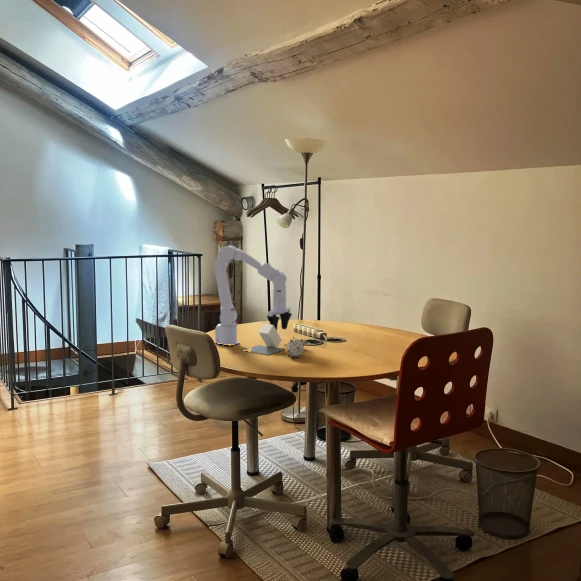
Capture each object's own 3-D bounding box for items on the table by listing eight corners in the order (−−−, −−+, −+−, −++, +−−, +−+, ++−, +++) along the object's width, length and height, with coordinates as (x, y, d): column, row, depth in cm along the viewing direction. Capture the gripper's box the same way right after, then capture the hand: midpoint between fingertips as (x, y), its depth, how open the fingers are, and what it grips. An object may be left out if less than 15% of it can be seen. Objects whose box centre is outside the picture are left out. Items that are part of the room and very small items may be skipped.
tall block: (267, 347, 271) (258, 332, 265) (272, 338, 274) (264, 323, 267) (276, 348, 268) (268, 333, 262) (281, 340, 271) (273, 324, 265)
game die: (293, 367, 251) (283, 350, 246) (288, 355, 258) (278, 338, 253) (312, 356, 251) (302, 339, 246) (307, 345, 258) (297, 328, 253)
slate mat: (241, 350, 263) (241, 350, 263) (258, 346, 273) (258, 345, 273) (267, 355, 255) (267, 354, 255) (284, 350, 265) (284, 349, 265)
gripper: (277, 302, 263) (277, 333, 265) (296, 298, 275) (295, 328, 277) (264, 301, 267) (264, 331, 269) (283, 297, 279) (283, 327, 281)
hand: (279, 330), depth 273 cm, fingers open, 7 cm apart
